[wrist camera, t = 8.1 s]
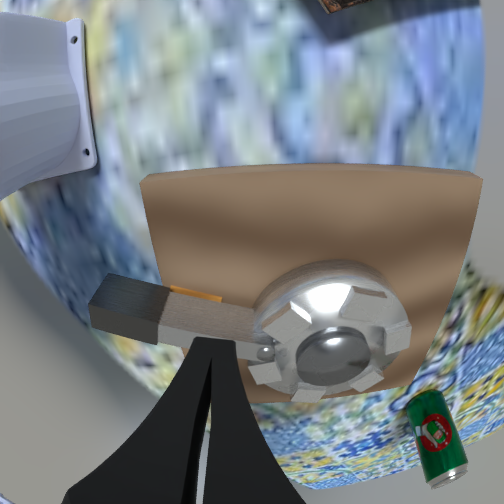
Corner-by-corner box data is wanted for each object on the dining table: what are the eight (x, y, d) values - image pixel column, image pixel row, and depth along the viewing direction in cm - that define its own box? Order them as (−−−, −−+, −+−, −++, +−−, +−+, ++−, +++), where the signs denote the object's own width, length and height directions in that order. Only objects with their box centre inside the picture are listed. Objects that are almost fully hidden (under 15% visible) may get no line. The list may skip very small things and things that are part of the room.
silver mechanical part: (420, 276, 17) (444, 310, 14) (355, 373, 22) (364, 408, 19) (110, 208, 15) (80, 237, 12) (115, 333, 20) (100, 369, 17)
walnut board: (148, 174, 16) (138, 183, 14) (469, 171, 15) (484, 180, 13) (202, 389, 26) (200, 404, 24) (406, 372, 25) (411, 386, 23)
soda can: (429, 406, 30) (453, 481, 19) (397, 412, 29) (420, 494, 19) (447, 384, 27) (479, 465, 17) (415, 390, 27) (445, 480, 17)
